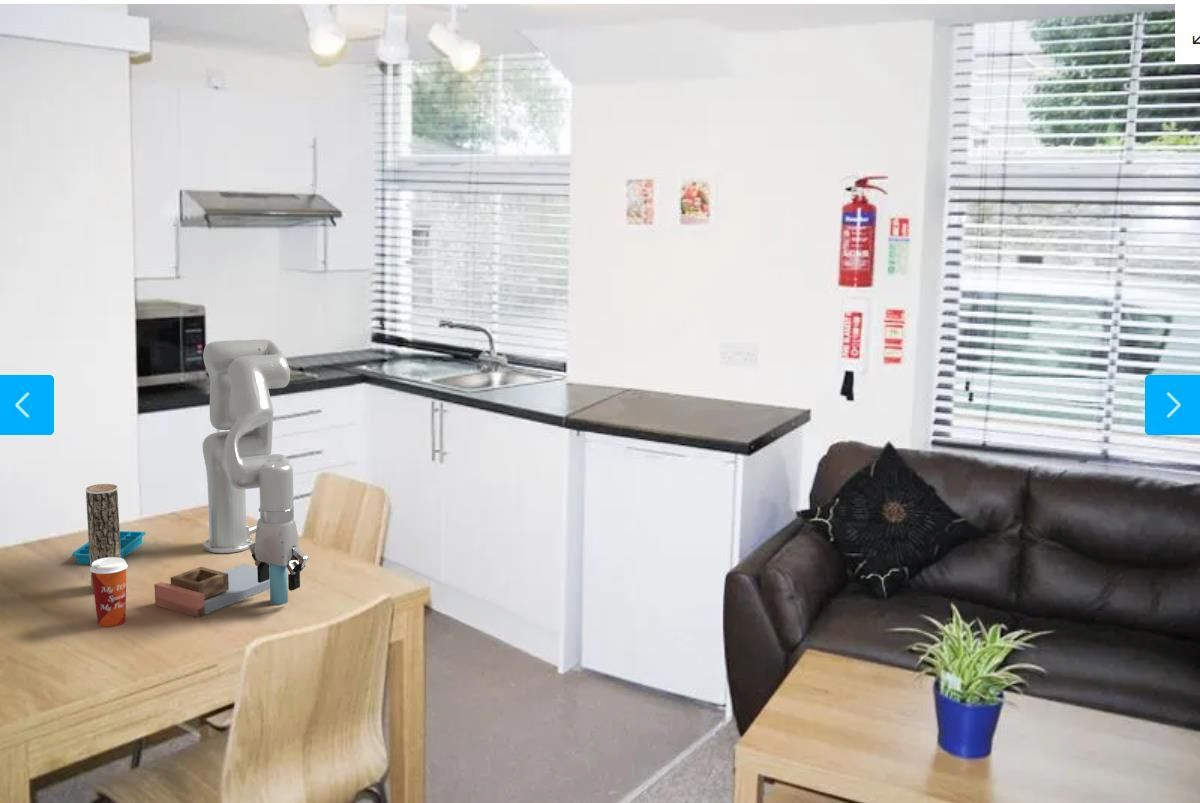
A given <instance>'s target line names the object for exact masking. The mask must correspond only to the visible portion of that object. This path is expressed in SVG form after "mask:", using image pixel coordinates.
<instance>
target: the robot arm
mask: <svg viewBox="0 0 1200 803" xmlns="http://www.w3.org/2000/svg"><path fill="white" fill-rule="evenodd" d="M203 363H204V366H205V369H206V371H207V373H208V377H209V382H210V385H209V421H210V423H211V426H212V427H213V428H214V429H216V430H220V431H217V432H213V433H210V434H209V435H207V436H206V437H205V438H204V439H203V443H202V454H203V458H204V465H205V469H206V479H207V482H206V483H207V502H208V503H207V505H208V508H207V509H208V529H209V530H208V531H209V532H208V534H209V536H208V537H209V539H207V540H205V541H204V542H203V549H204V550H205V551H207V552H211V553H217V554H232V553H233V554H234V553H239V552H242V551H246V550H248V549H249V550H250V552H251V557H252V559H253V560H254V565H255V567H256V568H257V573H258V582H259V583H261V582H264V581H266V580H269V564H273V565H277V566H286V567H287V571H288V572H289V573H287V583H288V591H290V592H291V591H292V592H293V591H294V590H297V589H299V588H300V587H301V572H302V571H303V570H304V568H305V567H306V564H307V562H308V558H309V557H308V556H307V555H306V554H305V553H304V552H302V551H301V550H300V541H299V534H298V529H297V528H298V527H297V523H296V521H295V510H294V507H295V506H294V500H295V499H294V469H293V466H292V465H291V461H290V460H289V459H288V457H286V456H285V455H284V454H282V453H281V454H280V453H276V454H275V453H274V454H272V449H273V448H272V446H273V425H274V422H273V421H274V408H273V403H272V400H271V399H272V398H271V396H270V395H271V394H270V389H271V390H272V389H281V388H286V387H287V386H288V385H289V383H290V381H291V369H290V366H289V362H288V361H287V358H286V357H285V355H284V353H283V351H282V350H281V349H280V348H279V347H278V346H277V345H276V343H275V342H273V341H272V340H270V339H244V340H243V339H241V340H240V339H236V340H220V341H218V340H217V341H212V342H209V343H208V344H206V346H205V347H204V349H203ZM258 488H259V508H258V512H259V516H260V518H259V519H258V520H257V522H256V523H257V524H255V525H253V526H248V525H247V504H246V503H247V502H246V499H247V498H246V490H249V489H258ZM252 534H255V537H254V538H255V539H254V541H253V539H252V538H251V537H250V536H252ZM293 566H294V567H293Z"/></svg>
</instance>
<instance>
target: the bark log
mask: <svg viewBox="0 0 1200 803" xmlns="http://www.w3.org/2000/svg"><path fill="white" fill-rule="evenodd" d="M85 500H86V502H85V503H86V517H87V535H88V536H87V537H88V542H89V555H90V564H89V569H90V568H91V565H92V563H93V562H94V561H96V560H98V559H102V558H108V557H118V558H121V550H120V531H121V530H120V516H119V514H120V512H119V495H118V486H117V485H116V484H113V483H112V484H111V483H99V484H92V485H90V486H87V487H85ZM89 572H90V584H91V586H90V587H91V589H92V590H93V591H94V588H93V580H92V572H91V571H90V570H89Z"/></svg>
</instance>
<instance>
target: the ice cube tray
mask: <svg viewBox="0 0 1200 803" xmlns="http://www.w3.org/2000/svg"><path fill="white" fill-rule="evenodd" d="M146 534H147V532H145V531H134V530H131V531H130V530H120V550H121V558H122V559H124V558H125V557H127V556H128V555H130V553H132V552H133V551H134V550H135V549H137V548H138V547H139V546H141V545H142V544H143V537H144V536H145V535H146ZM71 555H72V556H73V557H75V558H76V562H77V563H76V564H78V565H80V564H82V565H90V555H89V541H88V542H85V544H83V545H82V546H80V547H79V548H77V549H76V550H74V551H72V554H71Z"/></svg>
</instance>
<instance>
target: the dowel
mask: <svg viewBox="0 0 1200 803" xmlns="http://www.w3.org/2000/svg"><path fill="white" fill-rule="evenodd" d="M269 572H270V589H269V602H270V604H271V605H274V606H275V605H278V606H279V605H284V604H287V603H288V602H289V595H288V594H289V592H288V591H289V589H288V569H287V567H286V566H277V565H273V564H269Z"/></svg>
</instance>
